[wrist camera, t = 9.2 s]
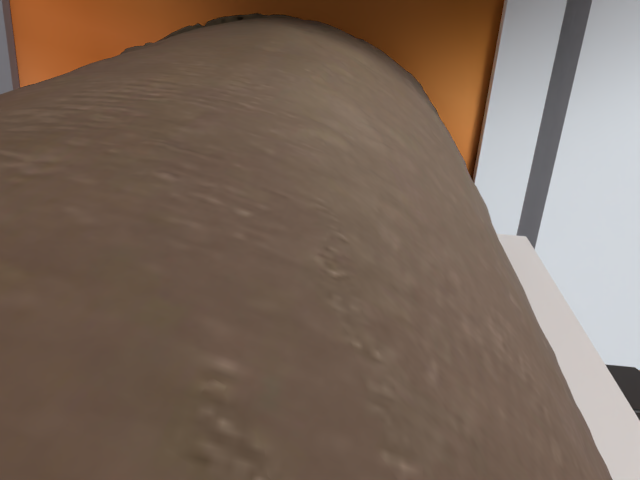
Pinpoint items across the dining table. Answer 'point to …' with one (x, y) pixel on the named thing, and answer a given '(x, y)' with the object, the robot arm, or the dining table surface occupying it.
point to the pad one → (573, 161)
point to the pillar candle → (261, 276)
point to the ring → (4, 78)
